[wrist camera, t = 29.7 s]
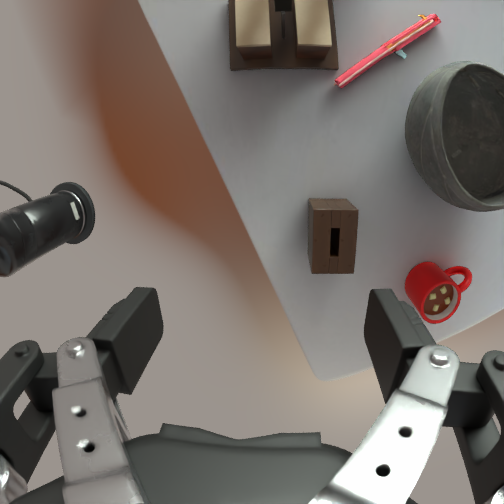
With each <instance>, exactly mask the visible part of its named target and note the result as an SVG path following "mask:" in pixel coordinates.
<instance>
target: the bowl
mask: <svg viewBox="0 0 504 504" xmlns="http://www.w3.org/2000/svg"><path fill="white" fill-rule="evenodd" d="M405 139H406V144H407V148H408V151H409V154H410V157H411V159H412V161H413V164H414V166H415V168H416V170H417V171H418V173H419V175H420V176H421V177H422V179H423V180H424V181H425V183H426V184H427V185H428V186H429V187H430V188H431V189H432V191H433V192H434V193H435V194H437V195H438V196H439V197H440V198H442V199H443V200H444V201H446V202H448V203H450V204H452V205H454V206H456V207H459V208H463V209H467V210H472V211H478V212H487V211H494V210H499V209H503V208H504V74H502V73H500V72H499V71H497V70H496V69H494V68H492V67H490V66H487V65H485V64H482V63H478V62H471V61H461V62H455V63H452V64H449V65H446V66H443V67H441V68H439V69H437V70H435V71H434V72H432V73H431V74H430V75H429V76H427V77H426V78H425V79H424V80H423V82H422V83H421V84H420V85H419V87H418V88H417V90H416V91H415V93H414V95H413V97H412V99H411V102H410V105H409V108H408V112H407V117H406V122H405Z"/></svg>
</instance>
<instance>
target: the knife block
mask: <svg viewBox="0 0 504 504" xmlns="http://www.w3.org/2000/svg"><path fill="white" fill-rule="evenodd" d="M357 227H358V209H357V208H356V207H355V206H354V205H352V204H351V203H350V202H349V201H348V200H347V199H320V198H309V209H308V258H309V263H310V268H311V273H312V274H328V273H329V274H353V273H354V265H355V254H356V241H357Z"/></svg>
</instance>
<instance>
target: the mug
mask: <svg viewBox="0 0 504 504" xmlns="http://www.w3.org/2000/svg"><path fill="white" fill-rule="evenodd" d="M456 274H462V275H464V277H465V278H464V280H463V282H462V283H460V284H459V285H457V284H456V283H455V282H454V281H453V280H452V279H451V278H450V276H452V275H456ZM471 281H472V274H471V272H470V270H469V269H468V268H466V267H463V266H455V267H451V268H448V269H446V270H445V271H443V270H442V269H441V268H440V267H439V266H437V265H436V264H435V263H432V262H423V263H420V264H418V265H417V266H415V267H414V268H413V269H412V270H411V271H410V272H409V274H408V276H407V278H406V281H405V291H406V294H407V296H408V297H409V299H410V300H411V302H412V303H413V304H414V306H415V307H416V309H417V310H418V312H419V313H420V315H421V316H422V318H423V319H424V320H425V321H427V322H428V323H433V324H436V323H441V322H443V321H445V320H447V319H448V318H450V317H451V316H452V315H453V314H454V313H455V311H456V310H457V308H458V306H459V304H460V300H461V293H462V292H463V291H465V290H466V289H467V288H468V287H469V285H470V284H471Z"/></svg>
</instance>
